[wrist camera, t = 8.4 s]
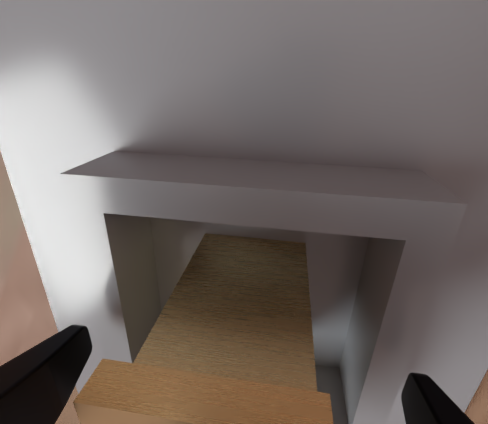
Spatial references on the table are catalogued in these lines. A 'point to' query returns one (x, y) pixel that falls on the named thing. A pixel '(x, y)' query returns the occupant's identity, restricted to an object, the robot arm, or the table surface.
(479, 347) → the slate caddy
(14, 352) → the table surface
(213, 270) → the wooden lipped block
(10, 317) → the table surface
